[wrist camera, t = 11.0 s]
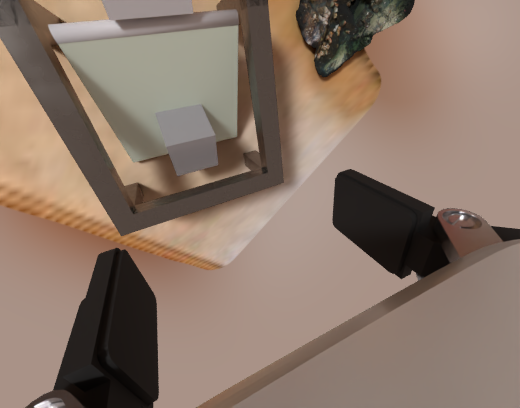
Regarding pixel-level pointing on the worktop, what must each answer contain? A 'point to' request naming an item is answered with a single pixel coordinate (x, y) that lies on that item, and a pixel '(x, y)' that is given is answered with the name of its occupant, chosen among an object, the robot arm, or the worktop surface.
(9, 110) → the worktop surface
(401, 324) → the robot arm
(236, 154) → the worktop surface
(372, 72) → the worktop surface
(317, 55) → the decorative rock
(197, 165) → the grey cube
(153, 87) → the trapdoor
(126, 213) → the frame
